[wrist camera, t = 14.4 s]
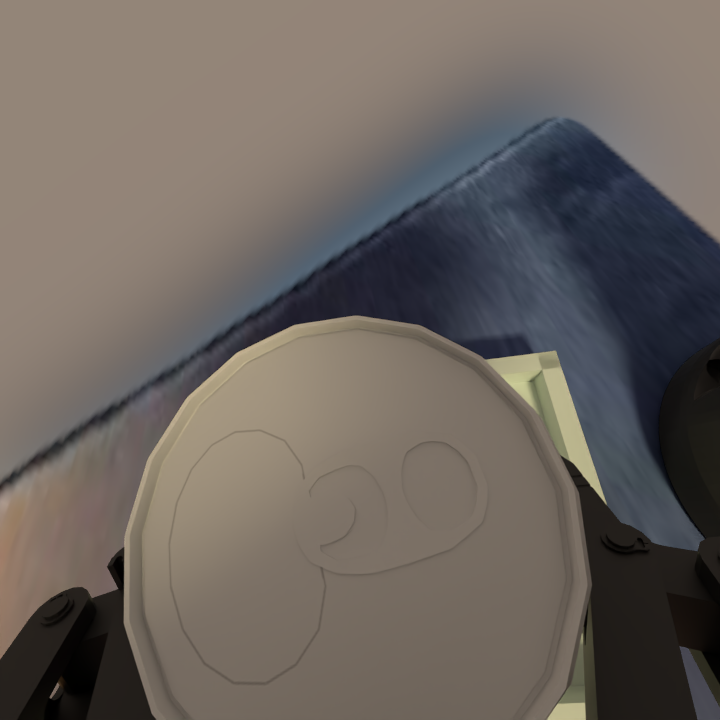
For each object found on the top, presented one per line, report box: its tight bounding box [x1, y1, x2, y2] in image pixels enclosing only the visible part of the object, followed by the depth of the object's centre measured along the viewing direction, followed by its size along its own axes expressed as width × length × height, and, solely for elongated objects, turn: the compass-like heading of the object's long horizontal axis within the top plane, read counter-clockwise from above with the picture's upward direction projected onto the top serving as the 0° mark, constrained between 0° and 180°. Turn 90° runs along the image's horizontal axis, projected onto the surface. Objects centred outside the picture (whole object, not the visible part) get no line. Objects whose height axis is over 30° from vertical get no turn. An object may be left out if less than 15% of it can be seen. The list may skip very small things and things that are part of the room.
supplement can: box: [124, 315, 592, 720], centre depth 13 cm, size 8×8×15 cm
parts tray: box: [486, 351, 607, 720], centre depth 19 cm, size 20×16×2 cm
